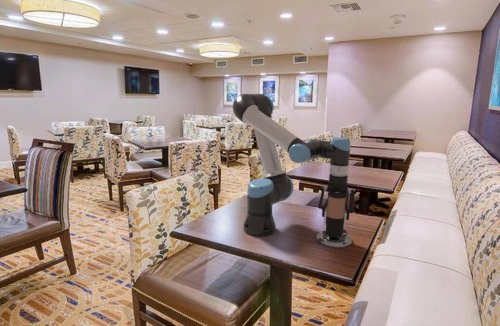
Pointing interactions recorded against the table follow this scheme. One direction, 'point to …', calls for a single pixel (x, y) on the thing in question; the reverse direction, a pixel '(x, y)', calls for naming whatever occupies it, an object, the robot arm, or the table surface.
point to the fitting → (334, 240)
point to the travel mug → (335, 214)
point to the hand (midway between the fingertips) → (334, 225)
